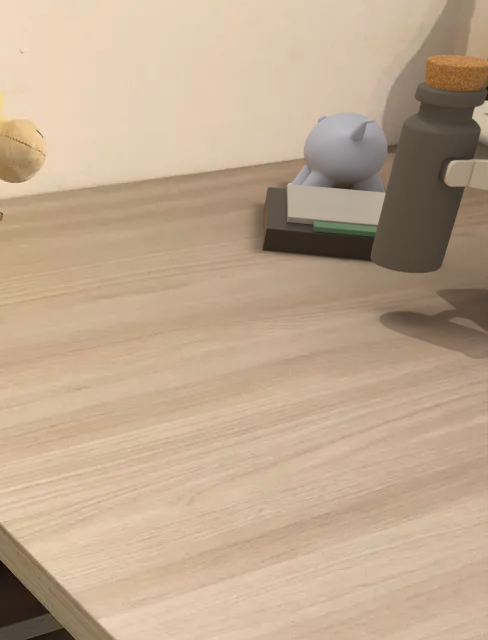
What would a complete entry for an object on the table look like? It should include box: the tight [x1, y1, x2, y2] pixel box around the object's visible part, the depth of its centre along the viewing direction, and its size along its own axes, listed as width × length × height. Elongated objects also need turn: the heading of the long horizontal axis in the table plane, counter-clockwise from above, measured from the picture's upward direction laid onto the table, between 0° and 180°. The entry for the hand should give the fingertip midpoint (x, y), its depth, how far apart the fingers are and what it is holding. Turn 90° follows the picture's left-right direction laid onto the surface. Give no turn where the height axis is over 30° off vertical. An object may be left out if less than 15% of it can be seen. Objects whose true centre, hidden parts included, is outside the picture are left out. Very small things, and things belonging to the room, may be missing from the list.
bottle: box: [371, 54, 488, 274], centre depth 82 cm, size 6×6×15 cm
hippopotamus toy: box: [288, 111, 389, 193], centre depth 117 cm, size 11×15×10 cm
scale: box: [261, 183, 386, 262], centre depth 107 cm, size 16×15×3 cm
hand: (422, 159), depth 82 cm, fingers closed on bottle, 6 cm apart
